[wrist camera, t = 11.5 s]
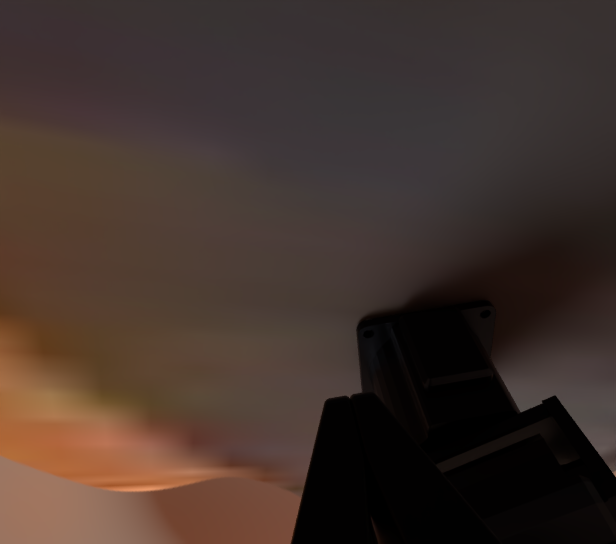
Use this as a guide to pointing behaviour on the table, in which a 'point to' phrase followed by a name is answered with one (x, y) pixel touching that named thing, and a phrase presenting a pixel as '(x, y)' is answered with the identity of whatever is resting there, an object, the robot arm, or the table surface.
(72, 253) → the table surface
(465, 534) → the robot arm
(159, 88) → the table surface
